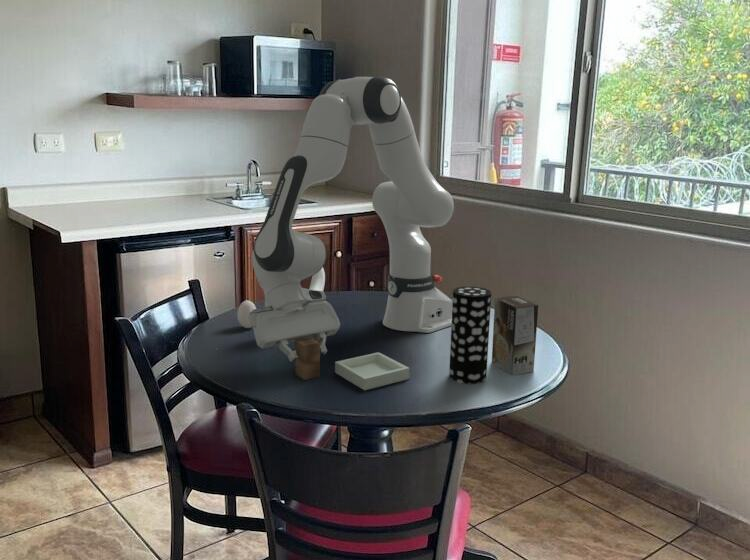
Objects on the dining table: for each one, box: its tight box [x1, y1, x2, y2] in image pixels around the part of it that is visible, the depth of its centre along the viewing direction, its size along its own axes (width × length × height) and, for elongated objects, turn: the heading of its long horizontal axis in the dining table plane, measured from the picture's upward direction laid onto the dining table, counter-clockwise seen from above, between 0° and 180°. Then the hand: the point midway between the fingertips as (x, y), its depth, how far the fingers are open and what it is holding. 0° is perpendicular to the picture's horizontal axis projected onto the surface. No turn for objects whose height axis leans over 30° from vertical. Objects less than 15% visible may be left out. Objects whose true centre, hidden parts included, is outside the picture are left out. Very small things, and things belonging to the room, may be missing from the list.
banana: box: [308, 266, 326, 292], centre depth 213 cm, size 5×19×15 cm, turn 166°
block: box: [294, 338, 321, 381], centre depth 160 cm, size 4×4×8 cm
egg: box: [236, 299, 257, 329], centre depth 192 cm, size 5×5×8 cm
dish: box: [334, 351, 411, 391], centre depth 161 cm, size 12×12×3 cm
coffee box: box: [491, 295, 539, 376], centre depth 166 cm, size 9×6×16 cm
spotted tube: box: [448, 286, 492, 385], centre depth 160 cm, size 8×8×20 cm
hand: (309, 356), depth 160 cm, fingers open, 6 cm apart
